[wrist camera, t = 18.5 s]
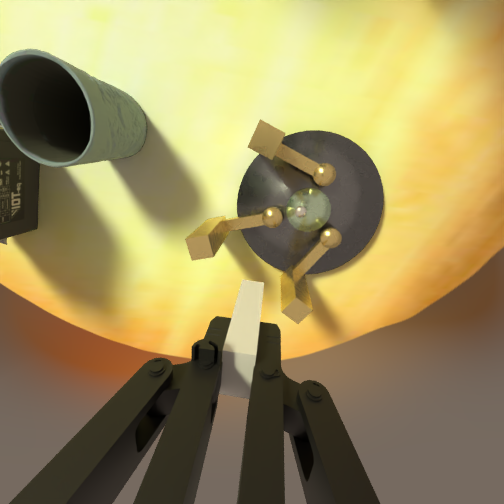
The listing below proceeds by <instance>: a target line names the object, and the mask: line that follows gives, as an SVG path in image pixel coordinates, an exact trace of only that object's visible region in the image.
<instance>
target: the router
mask: <svg viewBox="0 0 504 504" xmlns="http://www.w3.org/2000/svg"><path fill="white" fill-rule="evenodd" d="M38 189H39V163H38V162H36V161H35V160H33V159H31V158H29V157H28V156H27V155H25V154H24V153H23V152H22V151H20V150H19V148H18V147H17V146H16V145H15V144H14V143H13V142H12V141H11V139H10V138H9V137H8V135H7V134H6V132H5V130H4V128H3V127H2V125H1V123H0V243H3V244H6V245H7V238H8V237H11V236H15V235H18V234H21V233H25V232H28V231H32V230H35V229H37V224H38Z"/></svg>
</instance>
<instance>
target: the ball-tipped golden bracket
mask: <svg viewBox="0 0 504 504" xmlns="http://www.w3.org/2000/svg"><path fill="white" fill-rule="evenodd" d="M341 240H342V236H341V234H340V232H339V231H338V230H337V229H336V228H334V227H327V228H325V229H323V230H322V231H321V233H320V240H319V241H318V242H317V243H316V244H315V245H314V246H313V247H312V248H311V249H310V250H309V251H308V252H307V253H306V254H305V255H304V256H303V258H302V259H301V260H300V261H299V262H298V263H297V264H296V265H295V266H293V265H291V266H290V267H289V268H288V269H287V270H286V271H285V272H284V273H283V274H282V275H281V312H282V313H284V314H285V315H286V316H288V317H289V318H290V319H292V320H293V321H294V322H296V323H297V324H299V323H300V322H301V321H302V320H303V319H304V318H305V317H306V316H307V315H308V314H309V313H311V312H312V311H313V308H312V304H311V299H310V295H309V291H308V286H307V282H306V278H305V273H306V272H307V271H308V270H309V269H310V268H311V267H312V266H313V265H314V264H315V263H316V261H317V260H318V259H319V258H320V257H321V256H322V255H323V254H324V253H325V252H326V251H327V250H328V249H329V248H335V247H337V246H338V245H339V244H340V243H341Z"/></svg>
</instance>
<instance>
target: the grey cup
mask: <svg viewBox="0 0 504 504" xmlns="http://www.w3.org/2000/svg"><path fill="white" fill-rule="evenodd" d="M0 123H1V125H2V127H3V128H4V130H5V132H6V134H7V135H8V137H9V138H10V139H11V141H12V142H13V143H14V144H15V145H16V146H17V147H18V148H19V150H20V151H22V152H23V153H24V154H25V155H27V156H28V157H29V158H31V159H33V160H35V161H36V162H38V163H41V164H44V165H47V166H50V167H68V166H74V165H79V164H87V163H94V162H100V161H103V160H104V161H106V160H112V159H118V158H125V157H130V156H132V155H134V154H136V153H137V152H138V151H140V149H141V147H143V144H144V142H145V138H146V132H147V129H146V128H147V124H146V119H145V116H144V113H143V111H142V110H141V108H140V106H139V105H138V103H137V102H136V101H135V100H134V99H133V98H132V97H131V96H129V95H128V94H127V93H125V92H123V91H121V90H120V89H118V88H116V87H114V86H112V85H109V84H107V83H105V82H103V81H100V80H97V79H96V78H95V77H92V76H90V75H89V74H88V73H86V72H84V71H82V70H80V69H78V68H76V67H74V66H72V65H71V64H69V63H67V62H65V61H63V60H61V59H59V58H57V57H55V56H53V55H51V54H49V53H47V52H44V51H40V50H37V49H25V50H20V51H16V52H13V53H11V54H10V55H8V56H7V57H6V58H5V59H4V60H3V61H2V62H1V64H0Z"/></svg>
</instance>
